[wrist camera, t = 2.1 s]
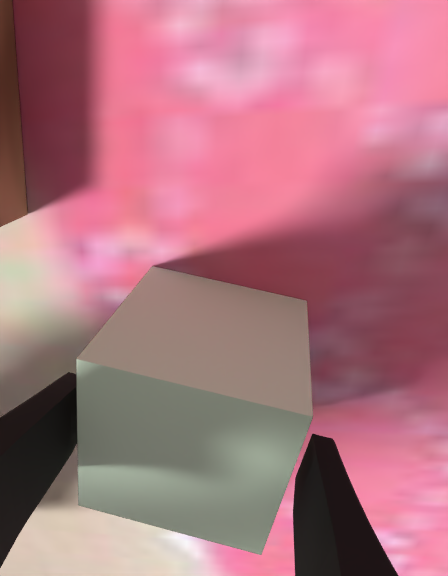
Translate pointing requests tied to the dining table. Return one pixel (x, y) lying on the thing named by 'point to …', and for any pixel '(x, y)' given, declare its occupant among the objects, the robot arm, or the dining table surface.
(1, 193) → the brown shallow tray
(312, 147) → the dining table surface
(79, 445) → the green cube
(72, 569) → the dining table surface
